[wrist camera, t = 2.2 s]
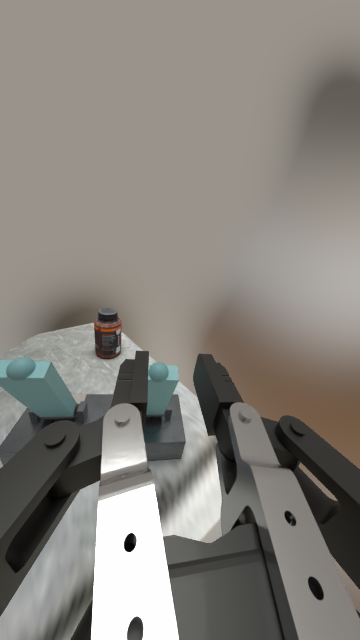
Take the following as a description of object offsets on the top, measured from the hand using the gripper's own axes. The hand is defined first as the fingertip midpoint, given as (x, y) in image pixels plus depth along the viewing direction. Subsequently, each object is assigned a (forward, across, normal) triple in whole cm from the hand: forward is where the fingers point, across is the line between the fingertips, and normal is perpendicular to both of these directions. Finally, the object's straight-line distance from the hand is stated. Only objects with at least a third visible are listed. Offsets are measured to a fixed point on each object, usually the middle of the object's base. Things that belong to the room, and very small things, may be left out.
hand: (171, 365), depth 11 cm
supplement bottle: (+31, +10, +22) cm, 40 cm away
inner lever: (+10, +12, +17) cm, 23 cm away
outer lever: (+10, 0, +17) cm, 20 cm away
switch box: (+10, +6, +22) cm, 25 cm away
